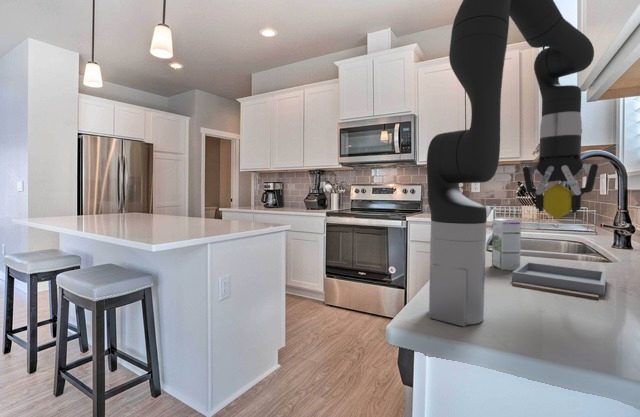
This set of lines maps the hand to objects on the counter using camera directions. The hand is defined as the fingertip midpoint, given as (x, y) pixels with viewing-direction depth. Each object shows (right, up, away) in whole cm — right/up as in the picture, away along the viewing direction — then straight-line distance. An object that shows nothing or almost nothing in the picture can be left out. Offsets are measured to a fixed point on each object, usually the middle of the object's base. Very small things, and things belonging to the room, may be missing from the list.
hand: (557, 211), depth 76 cm
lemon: (0, -2, 0) cm, 2 cm away
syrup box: (+2, -17, +24) cm, 30 cm away
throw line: (-1, -18, +1) cm, 18 cm away
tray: (+7, -18, +9) cm, 21 cm away
